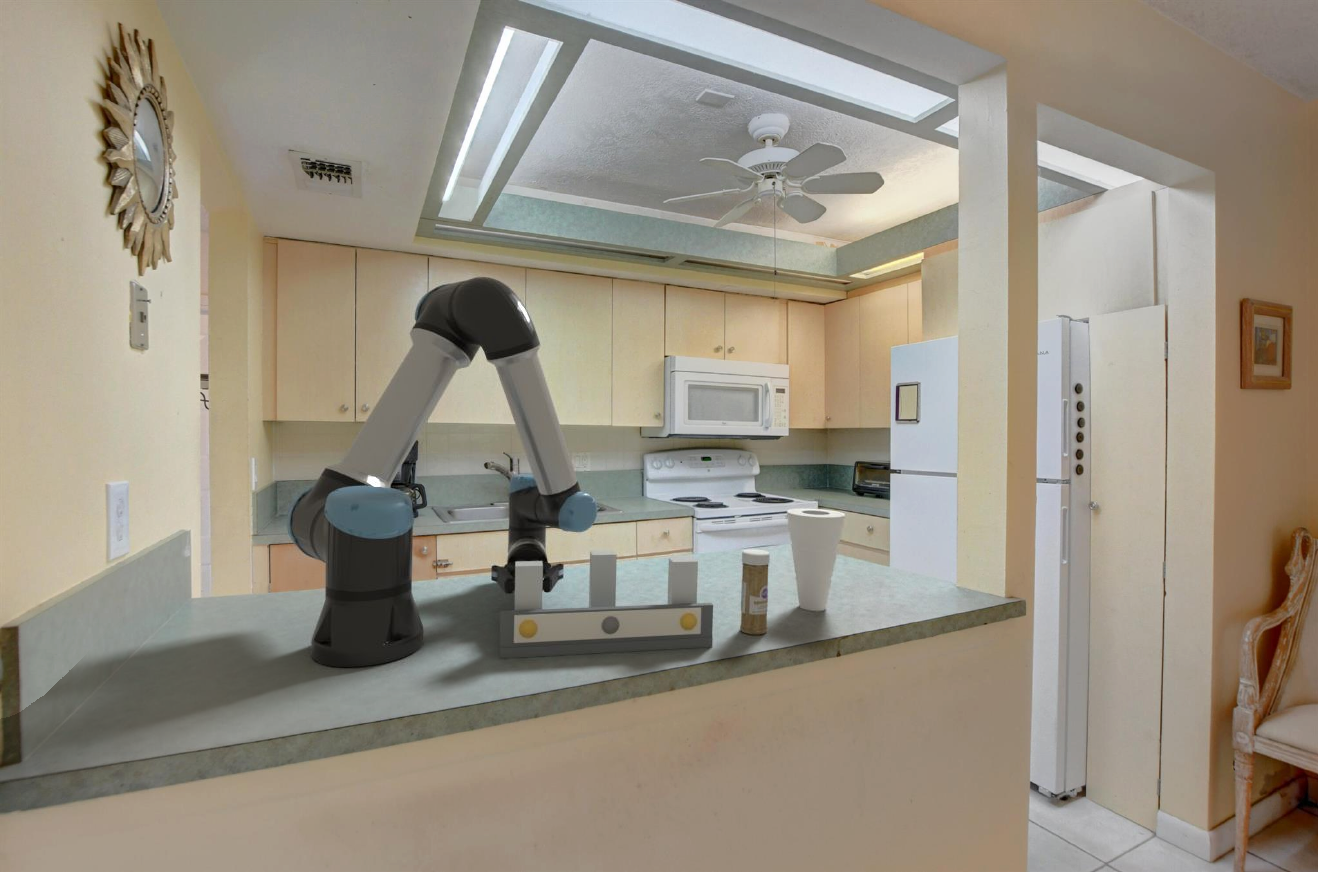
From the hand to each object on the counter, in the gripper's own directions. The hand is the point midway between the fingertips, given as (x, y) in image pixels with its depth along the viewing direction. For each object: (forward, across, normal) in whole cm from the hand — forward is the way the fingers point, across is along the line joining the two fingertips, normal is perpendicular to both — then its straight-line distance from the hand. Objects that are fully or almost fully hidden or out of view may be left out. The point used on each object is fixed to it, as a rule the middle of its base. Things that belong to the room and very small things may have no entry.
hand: (529, 598), depth 97 cm
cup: (-11, -53, -7) cm, 55 cm away
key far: (+2, -24, -5) cm, 25 cm away
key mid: (-4, -12, -5) cm, 14 cm away
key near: (+2, 0, -5) cm, 5 cm away
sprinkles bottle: (0, -37, -7) cm, 38 cm away
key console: (-1, -12, -7) cm, 14 cm away
